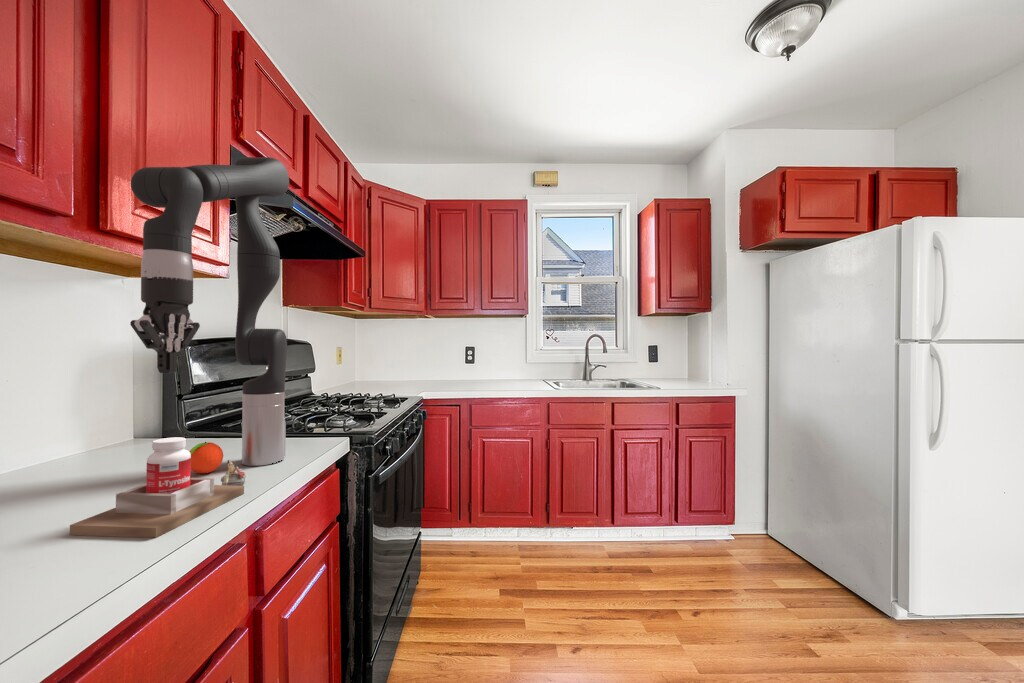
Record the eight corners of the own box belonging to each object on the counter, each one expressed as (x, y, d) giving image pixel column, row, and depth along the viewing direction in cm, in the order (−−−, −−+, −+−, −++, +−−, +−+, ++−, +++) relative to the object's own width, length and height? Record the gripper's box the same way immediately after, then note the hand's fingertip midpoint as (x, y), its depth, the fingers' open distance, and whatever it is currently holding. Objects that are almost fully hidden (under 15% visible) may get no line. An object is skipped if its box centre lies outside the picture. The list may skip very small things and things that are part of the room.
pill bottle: (155, 511, 73) (156, 445, 74) (139, 504, 77) (139, 440, 77) (197, 500, 79) (198, 438, 79) (180, 494, 82) (180, 434, 82)
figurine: (233, 480, 95) (231, 453, 94) (252, 481, 94) (251, 455, 94) (214, 492, 90) (212, 464, 89) (235, 493, 89) (233, 465, 88)
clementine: (203, 479, 96) (203, 446, 96) (174, 478, 96) (174, 445, 97) (230, 469, 104) (230, 439, 104) (203, 468, 104) (203, 438, 104)
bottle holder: (176, 491, 88) (176, 468, 88) (244, 493, 87) (244, 470, 87) (69, 534, 68) (70, 505, 68) (155, 537, 67) (156, 508, 67)
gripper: (177, 282, 87) (177, 369, 88) (113, 272, 74) (113, 375, 74) (214, 282, 87) (213, 370, 87) (155, 272, 74) (155, 375, 74)
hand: (167, 372), depth 81 cm, fingers closed
